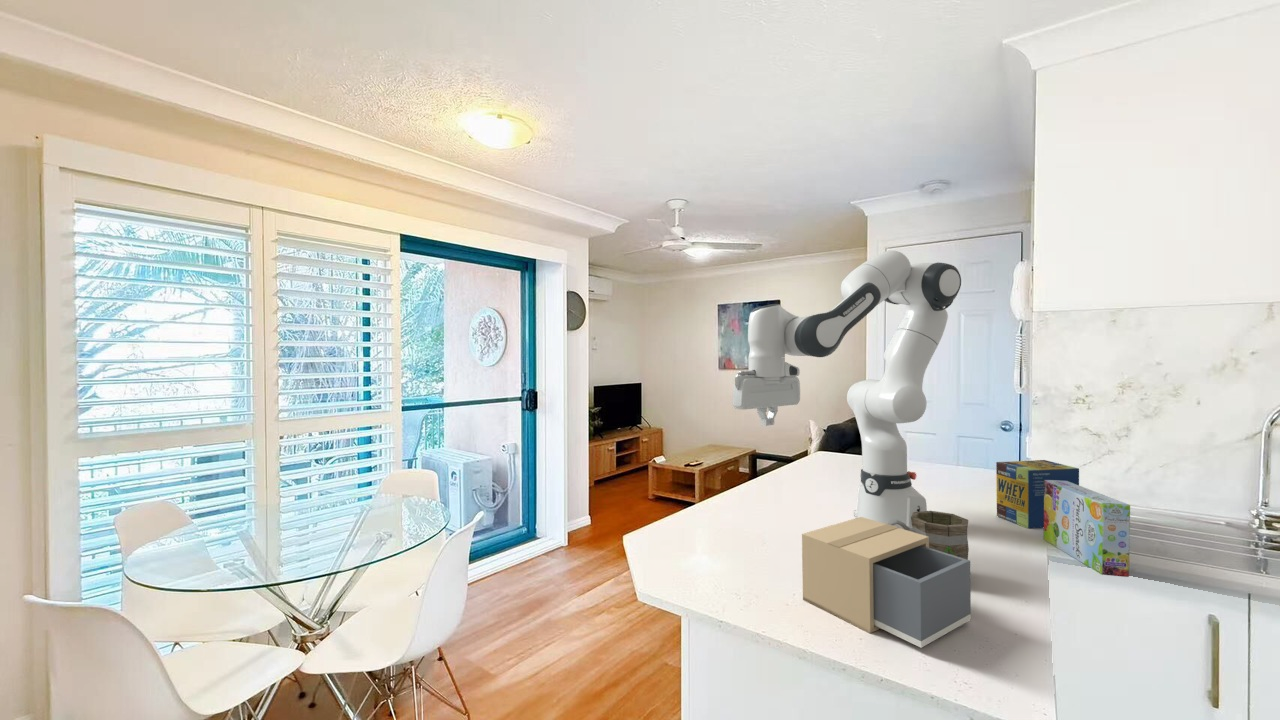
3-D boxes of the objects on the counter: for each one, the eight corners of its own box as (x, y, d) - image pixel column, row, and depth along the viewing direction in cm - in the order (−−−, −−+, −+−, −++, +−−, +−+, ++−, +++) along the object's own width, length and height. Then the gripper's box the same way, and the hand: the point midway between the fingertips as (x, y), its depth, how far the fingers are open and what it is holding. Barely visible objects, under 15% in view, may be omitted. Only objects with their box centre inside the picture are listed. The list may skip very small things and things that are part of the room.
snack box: (1133, 578, 103) (1132, 504, 103) (1101, 576, 104) (1100, 503, 104) (1067, 540, 124) (1067, 479, 124) (1041, 539, 125) (1041, 478, 125)
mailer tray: (856, 573, 105) (855, 524, 105) (970, 619, 86) (970, 560, 86) (806, 592, 97) (805, 539, 97) (921, 647, 78) (920, 582, 78)
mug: (959, 567, 109) (958, 512, 109) (980, 590, 99) (979, 528, 99) (880, 561, 113) (879, 508, 113) (893, 583, 102) (892, 524, 102)
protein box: (995, 516, 142) (995, 461, 142) (1045, 513, 144) (1044, 459, 144) (1028, 529, 132) (1027, 469, 132) (1081, 526, 134) (1080, 467, 134)
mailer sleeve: (861, 576, 105) (861, 516, 105) (929, 603, 94) (929, 536, 93) (802, 599, 96) (801, 533, 96) (870, 633, 84) (869, 558, 84)
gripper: (744, 371, 118) (745, 430, 118) (804, 368, 128) (805, 423, 128) (726, 370, 123) (727, 427, 123) (785, 368, 134) (786, 420, 134)
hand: (767, 425), depth 126 cm, fingers closed
